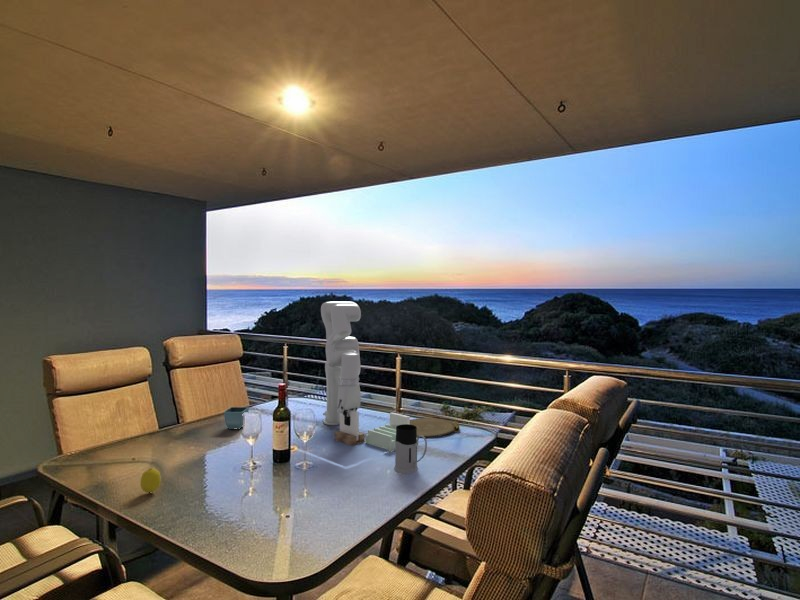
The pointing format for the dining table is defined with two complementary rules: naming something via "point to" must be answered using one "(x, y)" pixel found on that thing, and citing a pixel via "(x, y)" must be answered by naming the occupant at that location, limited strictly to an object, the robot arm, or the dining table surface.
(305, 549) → the dining table surface
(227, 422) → the flower pot
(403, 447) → the grey black mug
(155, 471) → the lemon
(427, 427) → the decorative disc
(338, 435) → the stand
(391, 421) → the rack
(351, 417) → the tall white panel
